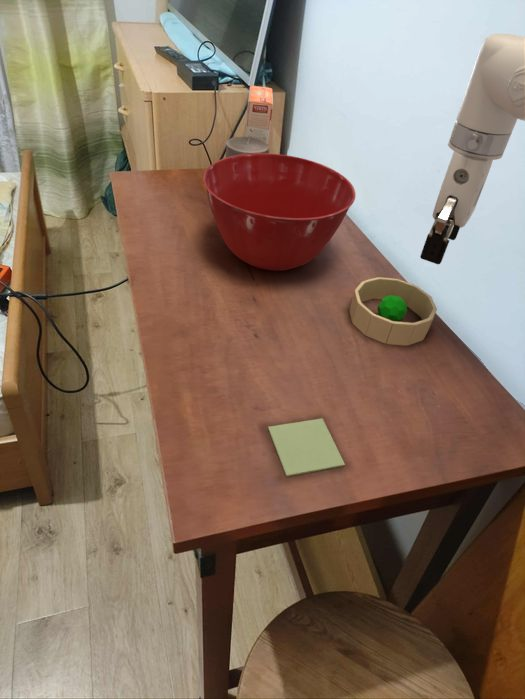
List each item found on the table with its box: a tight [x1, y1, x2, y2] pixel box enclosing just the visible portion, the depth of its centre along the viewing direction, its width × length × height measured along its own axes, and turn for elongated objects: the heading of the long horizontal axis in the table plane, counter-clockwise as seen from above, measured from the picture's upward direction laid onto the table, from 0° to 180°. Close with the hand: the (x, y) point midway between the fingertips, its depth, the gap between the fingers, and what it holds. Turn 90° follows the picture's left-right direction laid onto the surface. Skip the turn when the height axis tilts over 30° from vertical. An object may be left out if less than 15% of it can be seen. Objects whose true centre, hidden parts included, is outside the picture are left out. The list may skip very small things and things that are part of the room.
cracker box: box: [244, 85, 274, 145], centre depth 126 cm, size 14×6×21 cm, turn 179°
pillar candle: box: [225, 136, 270, 158], centre depth 117 cm, size 10×10×15 cm
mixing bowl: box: [202, 152, 357, 272], centre depth 100 cm, size 28×28×15 cm
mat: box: [267, 417, 346, 478], centre depth 67 cm, size 8×8×1 cm
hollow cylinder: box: [349, 276, 438, 347], centre depth 90 cm, size 14×14×4 cm
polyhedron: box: [377, 295, 408, 322], centre depth 90 cm, size 5×5×5 cm
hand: (438, 248), depth 82 cm, fingers open, 9 cm apart
